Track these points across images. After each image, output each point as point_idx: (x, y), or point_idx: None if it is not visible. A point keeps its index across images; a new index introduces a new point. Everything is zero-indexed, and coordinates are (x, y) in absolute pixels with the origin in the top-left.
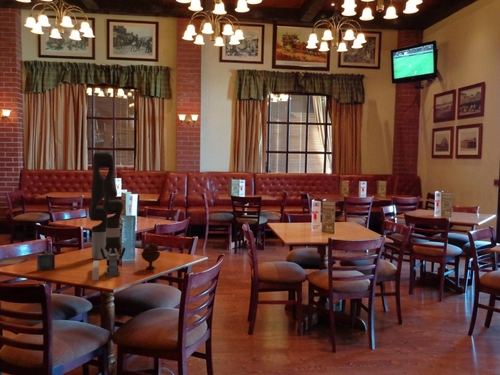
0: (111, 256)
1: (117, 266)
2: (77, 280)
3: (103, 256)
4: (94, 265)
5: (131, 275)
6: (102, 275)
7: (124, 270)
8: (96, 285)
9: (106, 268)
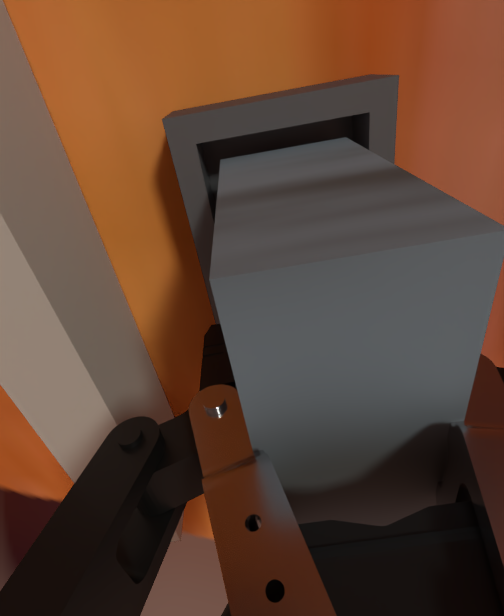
0: (321, 510)
1: (370, 90)
2: (14, 461)
3: (137, 541)
4: (14, 368)
5: (486, 340)
6: (182, 331)
7: (460, 77)
8: (211, 535)
9: (188, 214)
